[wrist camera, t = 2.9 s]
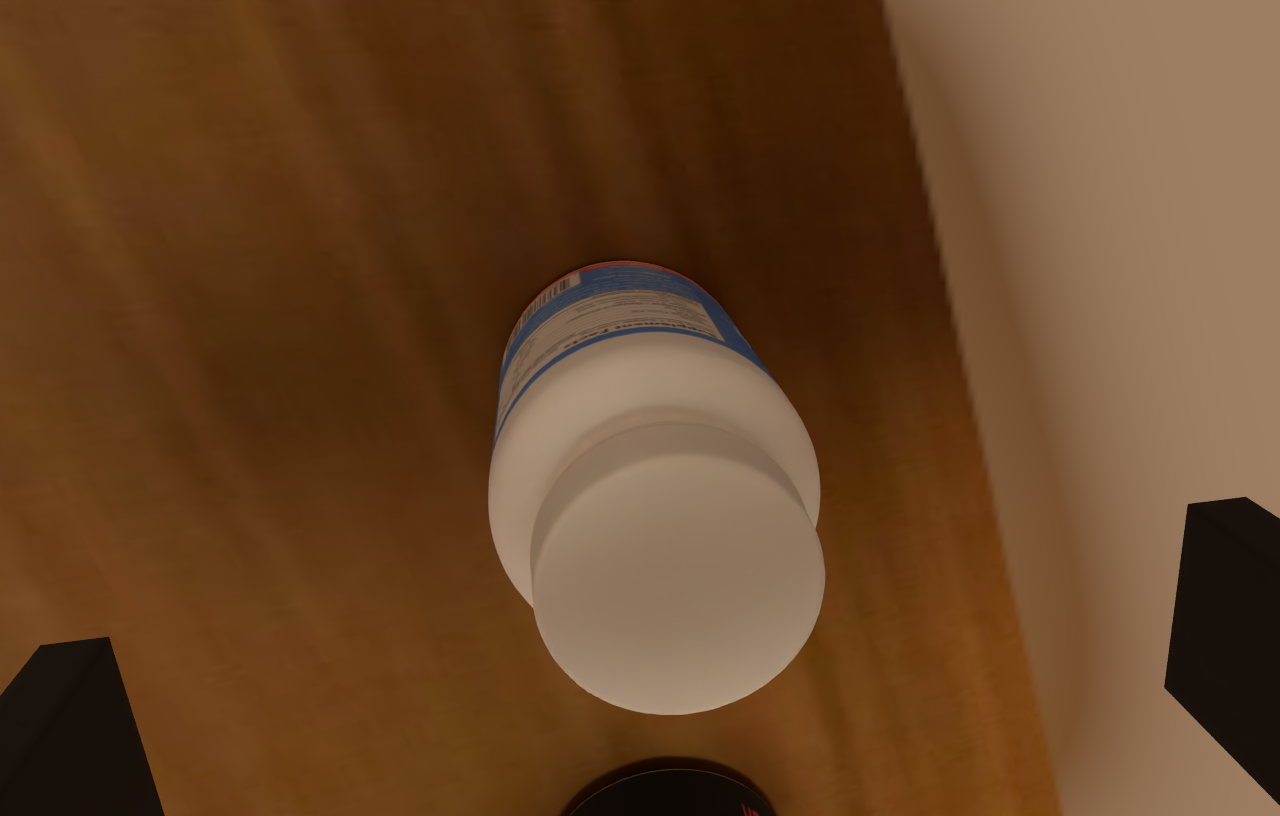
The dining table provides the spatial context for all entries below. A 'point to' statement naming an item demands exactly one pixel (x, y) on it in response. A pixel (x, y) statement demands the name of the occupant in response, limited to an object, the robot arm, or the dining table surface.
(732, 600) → the pill bottle
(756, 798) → the beverage can
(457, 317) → the dining table surface
